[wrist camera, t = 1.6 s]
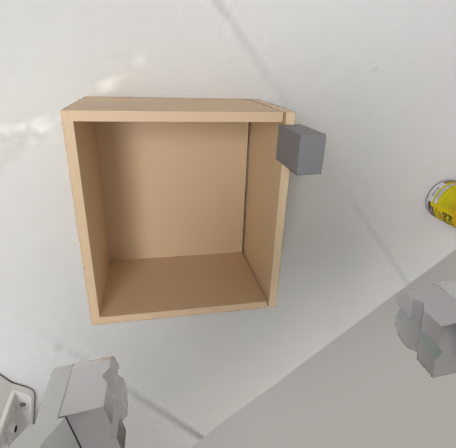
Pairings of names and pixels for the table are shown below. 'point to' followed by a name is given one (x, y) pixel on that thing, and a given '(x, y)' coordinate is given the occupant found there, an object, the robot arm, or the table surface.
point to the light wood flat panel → (274, 190)
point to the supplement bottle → (443, 202)
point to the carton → (162, 204)
